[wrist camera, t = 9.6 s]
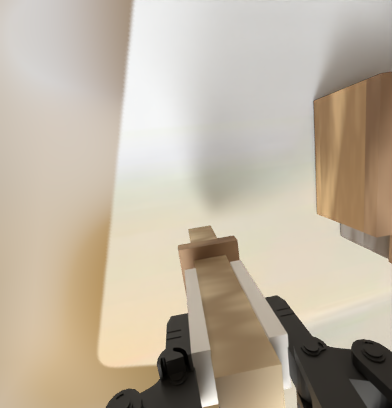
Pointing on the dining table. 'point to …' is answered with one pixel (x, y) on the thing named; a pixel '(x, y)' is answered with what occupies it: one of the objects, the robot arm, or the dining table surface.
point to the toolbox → (344, 164)
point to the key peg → (232, 326)
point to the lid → (378, 158)
